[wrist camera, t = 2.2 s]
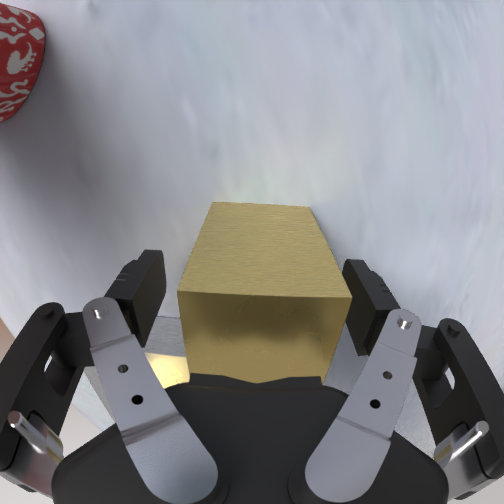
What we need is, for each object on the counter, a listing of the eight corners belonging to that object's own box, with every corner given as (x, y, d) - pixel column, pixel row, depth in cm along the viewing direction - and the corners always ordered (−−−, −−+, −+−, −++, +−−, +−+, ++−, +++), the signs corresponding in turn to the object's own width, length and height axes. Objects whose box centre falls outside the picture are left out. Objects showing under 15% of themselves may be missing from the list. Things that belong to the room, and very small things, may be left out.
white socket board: (86, 307, 16) (67, 337, 14) (270, 323, 17) (272, 362, 14) (161, 460, 30) (158, 477, 27) (249, 469, 30) (249, 487, 27)
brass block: (308, 206, 13) (352, 297, 7) (297, 286, 15) (318, 394, 9) (212, 201, 13) (176, 290, 7) (213, 282, 15) (192, 391, 9)
